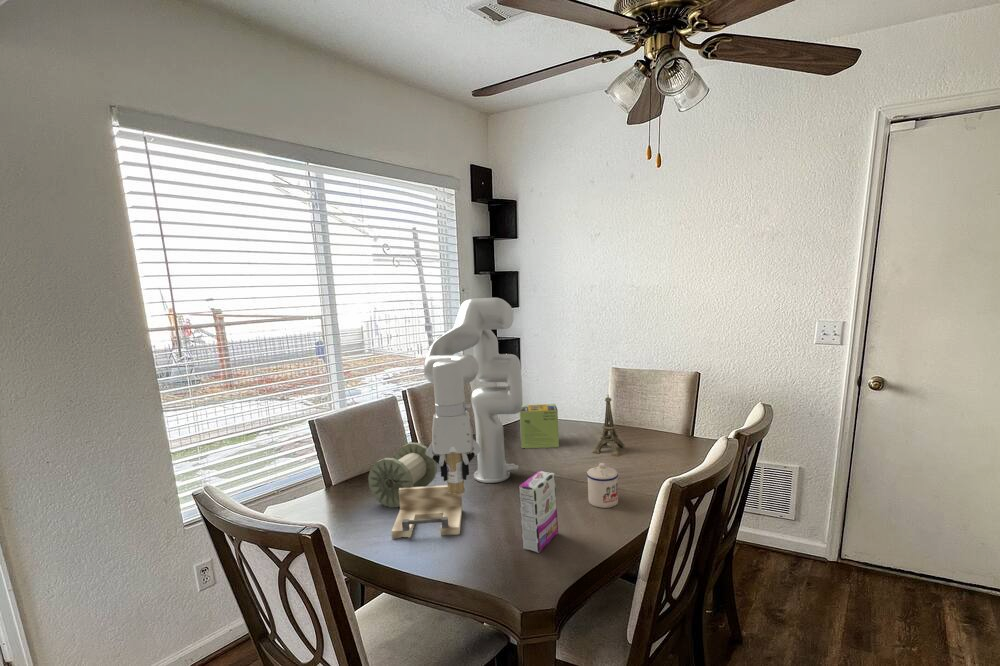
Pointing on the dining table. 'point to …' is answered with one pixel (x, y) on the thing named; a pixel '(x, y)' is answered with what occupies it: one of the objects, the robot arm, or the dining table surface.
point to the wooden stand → (428, 510)
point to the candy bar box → (538, 511)
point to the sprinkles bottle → (454, 473)
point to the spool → (401, 473)
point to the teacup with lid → (602, 486)
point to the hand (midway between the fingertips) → (455, 477)
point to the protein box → (539, 426)
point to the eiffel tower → (613, 436)
